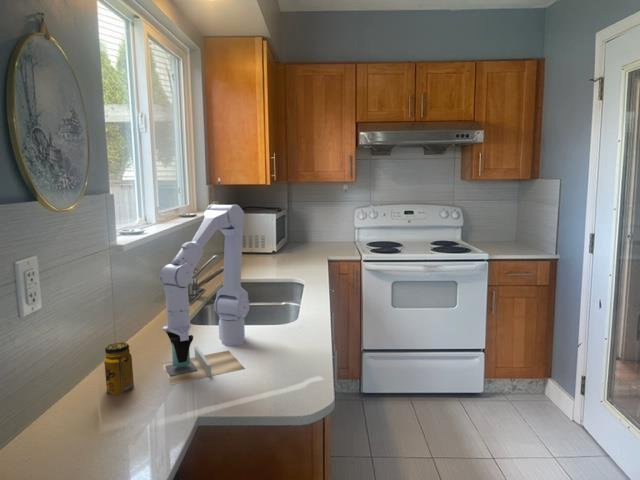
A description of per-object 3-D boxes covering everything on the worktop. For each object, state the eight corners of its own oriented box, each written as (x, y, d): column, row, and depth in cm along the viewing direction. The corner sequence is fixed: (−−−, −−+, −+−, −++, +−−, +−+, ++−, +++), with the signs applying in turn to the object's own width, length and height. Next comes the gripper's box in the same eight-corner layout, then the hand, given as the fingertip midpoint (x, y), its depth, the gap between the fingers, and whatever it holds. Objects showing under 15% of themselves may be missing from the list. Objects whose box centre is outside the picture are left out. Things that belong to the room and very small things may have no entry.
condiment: (98, 396, 107) (94, 348, 105) (127, 381, 114) (123, 336, 113) (120, 402, 104) (117, 352, 102) (148, 386, 111) (145, 340, 110)
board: (161, 366, 123) (161, 363, 123) (228, 353, 132) (228, 350, 132) (171, 388, 110) (171, 384, 110) (245, 372, 119) (245, 368, 119)
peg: (171, 362, 120) (170, 340, 119) (188, 359, 122) (187, 338, 121) (174, 368, 116) (173, 346, 115) (191, 365, 118) (190, 343, 117)
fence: (194, 356, 127) (194, 346, 127) (197, 356, 127) (197, 346, 127) (208, 376, 114) (207, 365, 114) (211, 376, 114) (210, 364, 114)
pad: (165, 366, 120) (165, 365, 120) (191, 361, 124) (191, 360, 124) (170, 376, 114) (169, 375, 114) (197, 370, 118) (197, 369, 118)
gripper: (157, 304, 121) (160, 352, 123) (166, 318, 109) (170, 371, 110) (183, 301, 125) (186, 347, 126) (195, 314, 112) (198, 365, 114)
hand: (180, 358), depth 119 cm, fingers closed on peg, 4 cm apart
